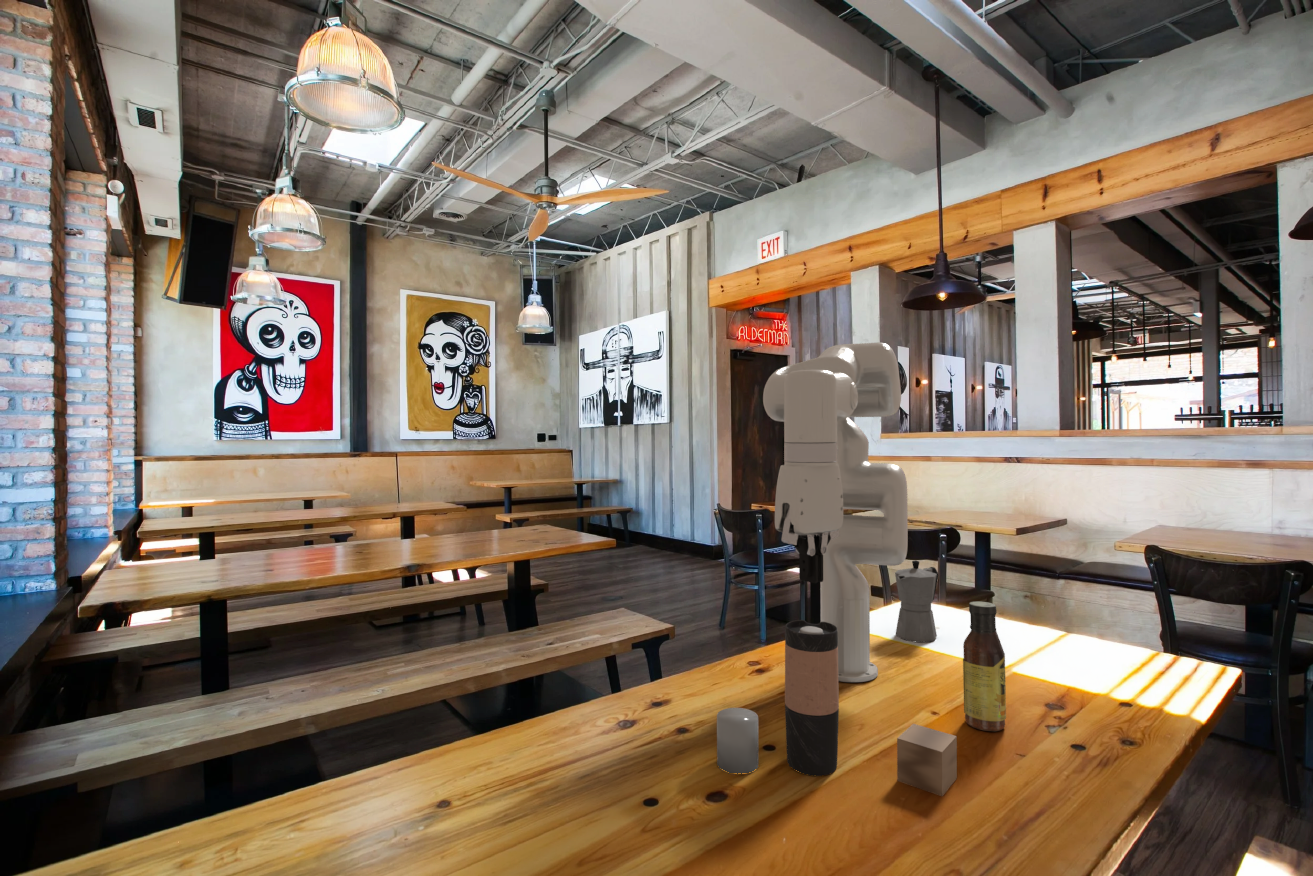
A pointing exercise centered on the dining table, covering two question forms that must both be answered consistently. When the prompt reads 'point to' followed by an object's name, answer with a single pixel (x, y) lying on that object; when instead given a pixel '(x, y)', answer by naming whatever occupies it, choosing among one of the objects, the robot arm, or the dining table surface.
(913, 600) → the coffeepot
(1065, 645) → the dining table surface
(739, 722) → the grey rounded cylinder
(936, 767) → the grey cube
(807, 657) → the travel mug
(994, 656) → the sauce bottle
